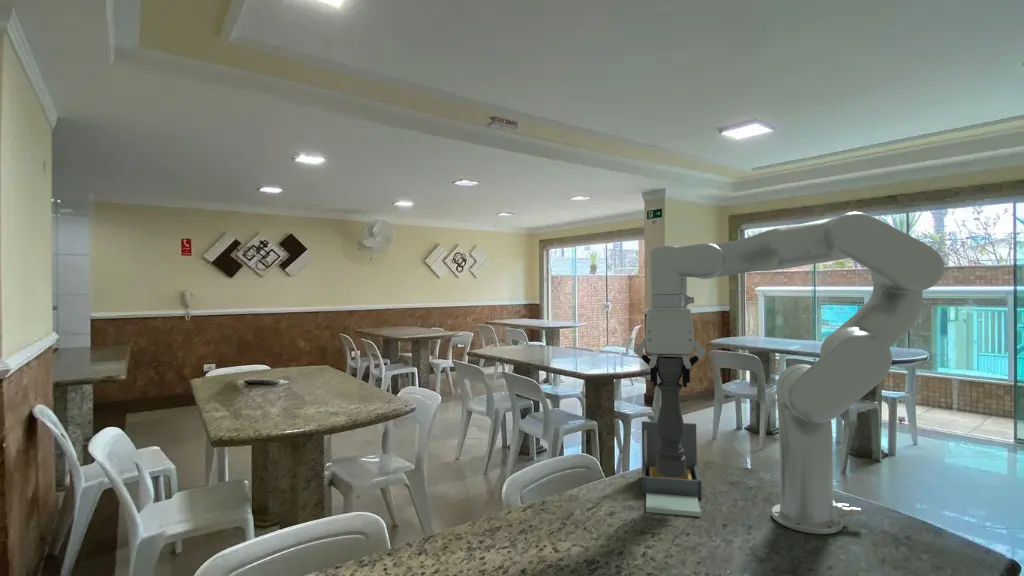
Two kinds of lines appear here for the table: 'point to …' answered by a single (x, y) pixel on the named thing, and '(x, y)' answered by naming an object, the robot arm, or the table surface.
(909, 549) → the table surface
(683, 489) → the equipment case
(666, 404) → the candle holder
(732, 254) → the robot arm
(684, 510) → the sage pad
